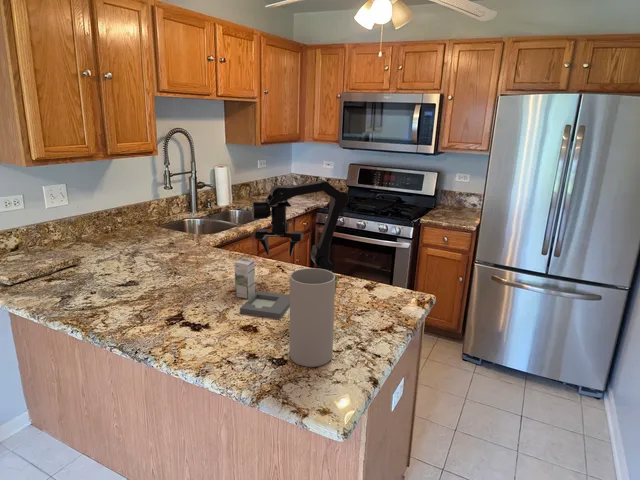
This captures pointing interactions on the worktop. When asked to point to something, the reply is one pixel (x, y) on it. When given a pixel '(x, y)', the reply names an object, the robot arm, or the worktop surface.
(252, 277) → the syrup box
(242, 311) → the pocket plate
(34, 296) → the worktop surface
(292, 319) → the cylinder vase
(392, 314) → the worktop surface
